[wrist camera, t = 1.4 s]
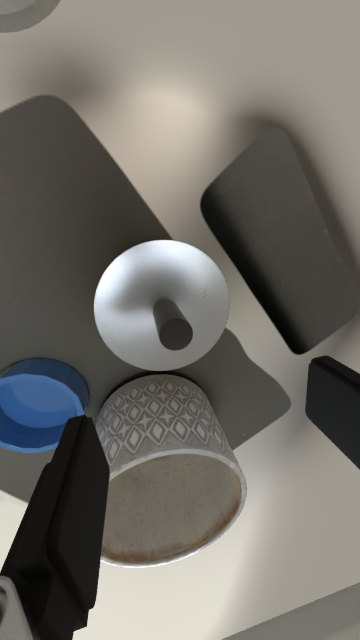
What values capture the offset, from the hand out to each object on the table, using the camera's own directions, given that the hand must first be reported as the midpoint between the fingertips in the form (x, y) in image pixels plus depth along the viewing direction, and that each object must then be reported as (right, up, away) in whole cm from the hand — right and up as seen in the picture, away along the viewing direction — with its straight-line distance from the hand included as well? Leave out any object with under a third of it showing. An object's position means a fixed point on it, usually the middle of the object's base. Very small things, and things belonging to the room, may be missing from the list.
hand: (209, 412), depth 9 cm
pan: (-21, -7, +23) cm, 32 cm away
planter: (-5, -13, +28) cm, 31 cm away
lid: (-3, +5, +13) cm, 14 cm away
